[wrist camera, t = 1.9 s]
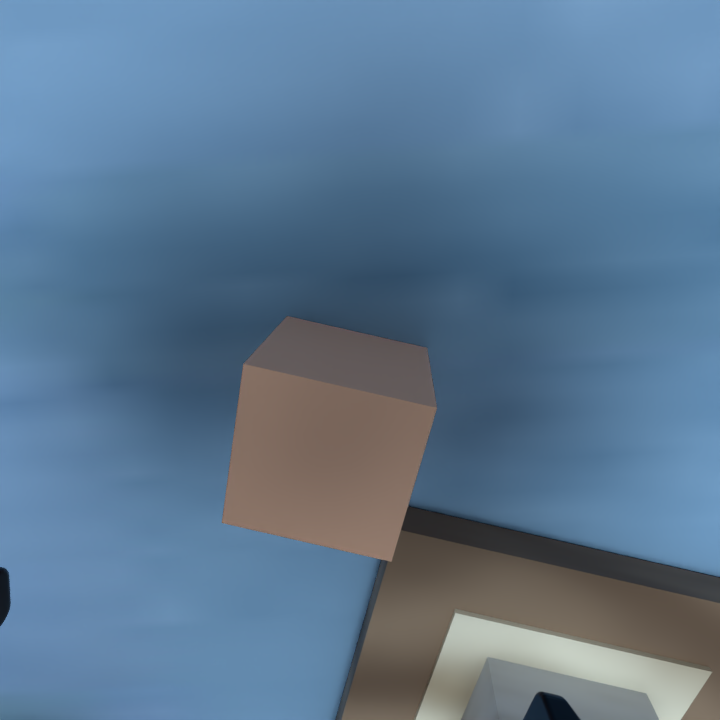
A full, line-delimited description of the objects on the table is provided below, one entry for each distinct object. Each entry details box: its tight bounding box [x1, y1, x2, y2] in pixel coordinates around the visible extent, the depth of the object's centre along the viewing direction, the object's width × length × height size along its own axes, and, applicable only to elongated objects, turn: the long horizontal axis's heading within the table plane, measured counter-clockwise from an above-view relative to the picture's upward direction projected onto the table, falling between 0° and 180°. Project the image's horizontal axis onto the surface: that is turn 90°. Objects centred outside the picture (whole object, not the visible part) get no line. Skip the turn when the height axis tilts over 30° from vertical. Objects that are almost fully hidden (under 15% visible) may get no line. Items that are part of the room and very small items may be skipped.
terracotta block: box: [222, 316, 437, 562], centre depth 15 cm, size 5×5×5 cm
